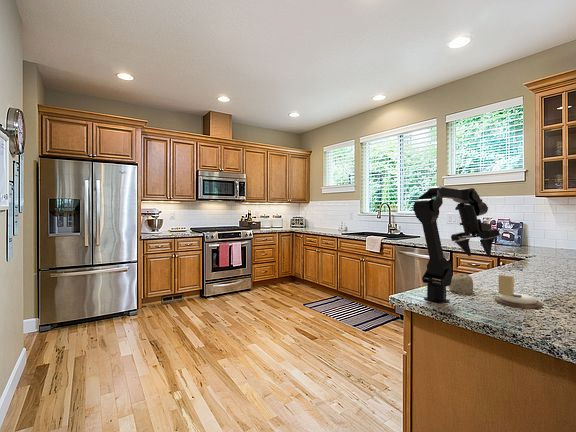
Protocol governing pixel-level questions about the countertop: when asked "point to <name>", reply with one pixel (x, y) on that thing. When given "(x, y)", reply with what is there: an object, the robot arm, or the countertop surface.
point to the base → (527, 306)
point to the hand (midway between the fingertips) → (479, 255)
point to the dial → (512, 291)
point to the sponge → (461, 283)
